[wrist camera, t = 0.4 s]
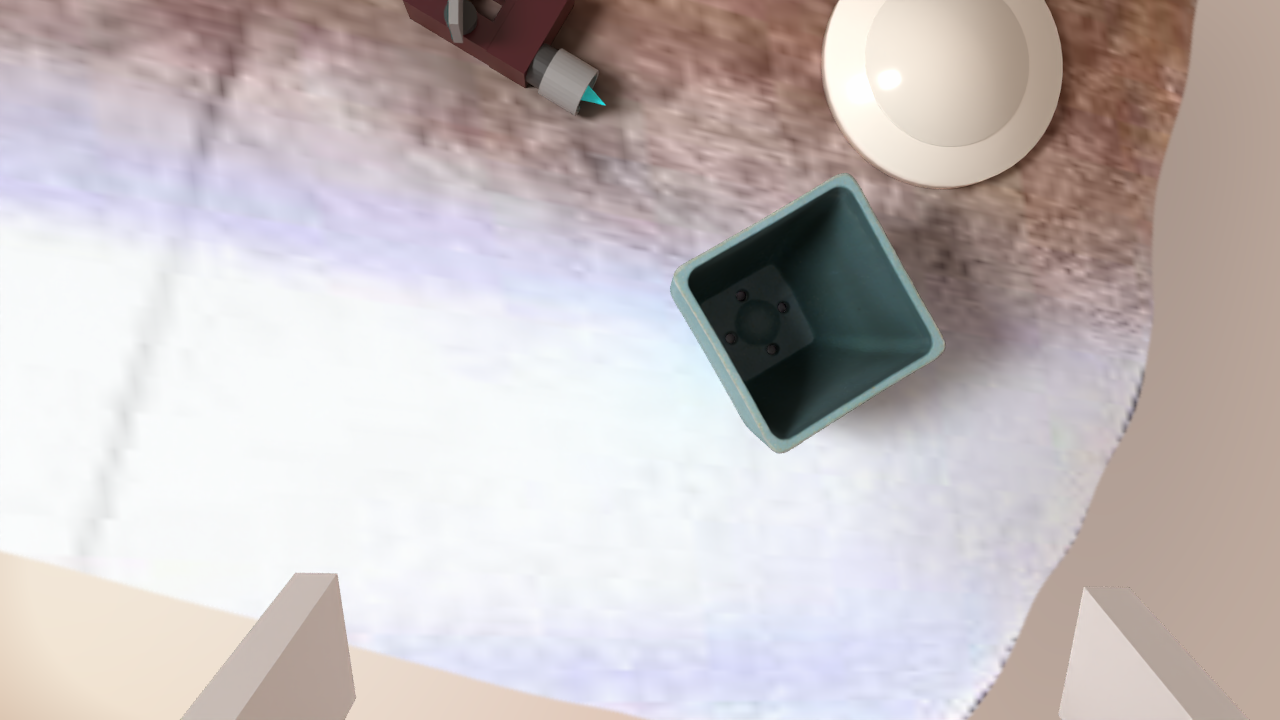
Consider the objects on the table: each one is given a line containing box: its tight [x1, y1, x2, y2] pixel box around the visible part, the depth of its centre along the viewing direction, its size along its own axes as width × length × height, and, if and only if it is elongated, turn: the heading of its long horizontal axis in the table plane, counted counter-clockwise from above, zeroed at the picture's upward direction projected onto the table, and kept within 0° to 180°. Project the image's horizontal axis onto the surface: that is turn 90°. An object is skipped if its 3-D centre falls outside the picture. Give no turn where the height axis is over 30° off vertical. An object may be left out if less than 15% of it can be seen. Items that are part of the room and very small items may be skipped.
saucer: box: [821, 0, 1063, 189], centre depth 42 cm, size 13×13×1 cm
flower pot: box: [670, 173, 946, 453], centre depth 37 cm, size 9×9×9 cm
